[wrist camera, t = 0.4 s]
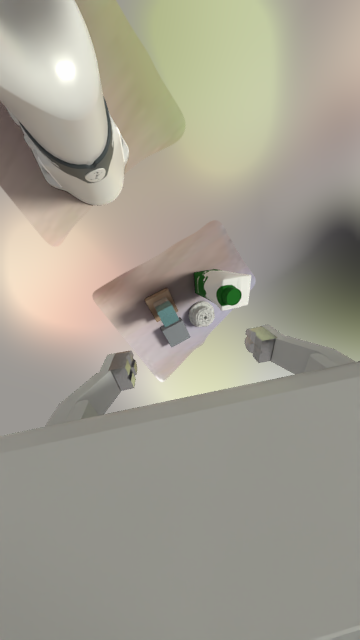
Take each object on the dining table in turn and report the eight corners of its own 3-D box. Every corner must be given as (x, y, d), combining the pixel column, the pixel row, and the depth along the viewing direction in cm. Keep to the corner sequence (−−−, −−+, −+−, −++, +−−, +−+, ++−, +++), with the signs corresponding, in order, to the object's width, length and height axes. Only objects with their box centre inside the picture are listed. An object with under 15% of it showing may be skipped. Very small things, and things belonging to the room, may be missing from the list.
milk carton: (191, 270, 48) (225, 279, 30) (215, 266, 50) (261, 272, 33) (192, 295, 52) (224, 316, 34) (215, 291, 54) (256, 309, 36)
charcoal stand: (160, 327, 53) (162, 331, 50) (180, 317, 54) (182, 320, 51) (169, 343, 57) (171, 347, 54) (187, 333, 57) (190, 337, 55)
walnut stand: (144, 299, 47) (145, 301, 44) (166, 287, 48) (168, 289, 45) (155, 318, 51) (157, 322, 48) (175, 308, 52) (178, 311, 49)
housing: (152, 303, 45) (157, 312, 38) (165, 296, 46) (172, 304, 38) (159, 316, 48) (165, 327, 40) (171, 309, 48) (179, 320, 41)
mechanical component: (186, 304, 53) (189, 328, 57) (191, 308, 49) (193, 333, 53) (211, 298, 55) (212, 321, 59) (217, 301, 51) (218, 326, 55)
